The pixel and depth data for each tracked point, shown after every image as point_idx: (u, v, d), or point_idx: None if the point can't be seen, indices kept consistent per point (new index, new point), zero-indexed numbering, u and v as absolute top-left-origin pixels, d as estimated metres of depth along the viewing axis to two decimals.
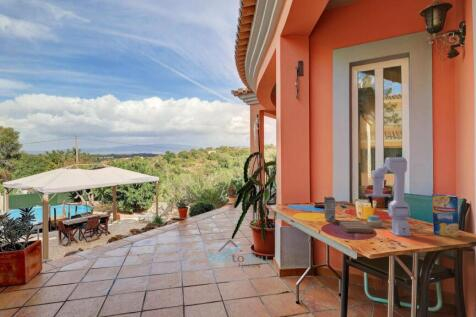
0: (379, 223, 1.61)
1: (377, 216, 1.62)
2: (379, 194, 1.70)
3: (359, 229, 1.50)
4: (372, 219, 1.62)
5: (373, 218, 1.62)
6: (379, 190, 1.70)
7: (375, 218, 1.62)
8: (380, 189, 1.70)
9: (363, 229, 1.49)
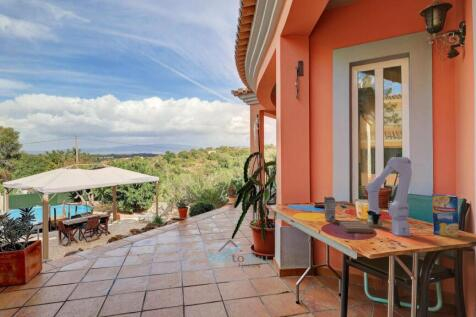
0: (379, 223, 1.61)
1: None
2: (369, 208, 1.64)
3: (359, 229, 1.50)
4: (372, 219, 1.62)
5: None
6: (369, 204, 1.64)
7: None
8: (369, 203, 1.63)
9: (363, 229, 1.49)
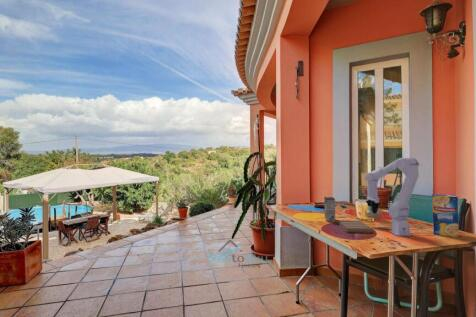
0: (378, 214, 1.61)
1: None
2: (368, 197, 1.64)
3: (359, 229, 1.50)
4: (371, 210, 1.62)
5: None
6: (368, 193, 1.64)
7: None
8: (368, 192, 1.63)
9: (363, 229, 1.49)
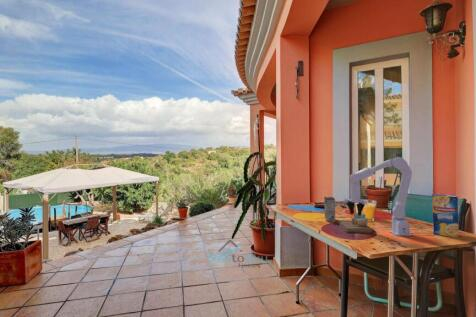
0: (365, 220, 1.58)
1: None
2: (353, 199, 1.57)
3: (359, 229, 1.50)
4: (360, 217, 1.57)
5: (361, 216, 1.57)
6: (353, 195, 1.57)
7: (362, 215, 1.58)
8: (354, 194, 1.56)
9: (363, 229, 1.49)
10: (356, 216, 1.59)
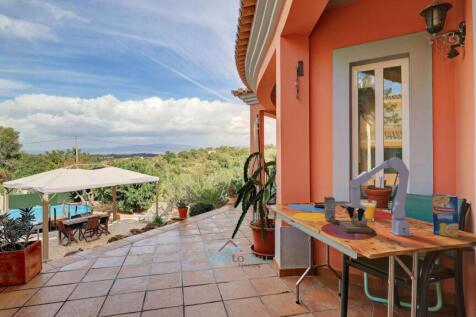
0: (365, 220, 1.58)
1: None
2: (353, 205, 1.57)
3: (359, 229, 1.50)
4: None
5: None
6: (353, 201, 1.57)
7: None
8: (354, 200, 1.56)
9: (363, 229, 1.49)
10: (356, 216, 1.59)
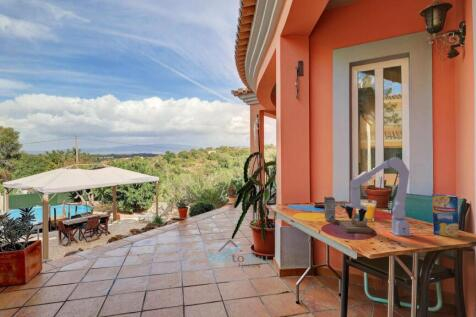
0: (365, 220, 1.58)
1: None
2: (353, 205, 1.57)
3: (359, 229, 1.50)
4: None
5: None
6: (353, 201, 1.57)
7: None
8: (354, 200, 1.56)
9: (363, 229, 1.49)
10: (356, 216, 1.59)
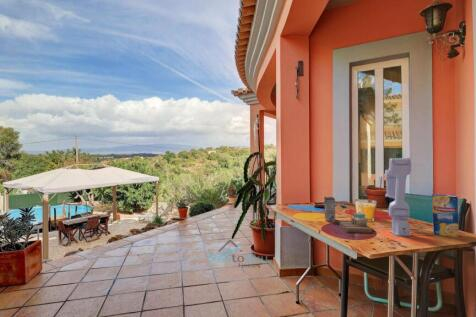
0: (365, 220, 1.58)
1: (362, 213, 1.60)
2: (387, 195, 1.64)
3: (359, 229, 1.50)
4: (360, 217, 1.57)
5: (360, 216, 1.57)
6: (387, 190, 1.64)
7: (362, 215, 1.58)
8: (388, 190, 1.63)
9: (363, 229, 1.49)
10: (356, 216, 1.59)
